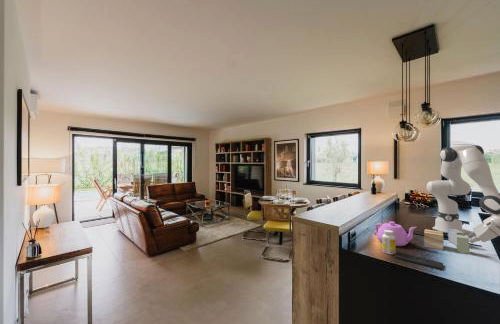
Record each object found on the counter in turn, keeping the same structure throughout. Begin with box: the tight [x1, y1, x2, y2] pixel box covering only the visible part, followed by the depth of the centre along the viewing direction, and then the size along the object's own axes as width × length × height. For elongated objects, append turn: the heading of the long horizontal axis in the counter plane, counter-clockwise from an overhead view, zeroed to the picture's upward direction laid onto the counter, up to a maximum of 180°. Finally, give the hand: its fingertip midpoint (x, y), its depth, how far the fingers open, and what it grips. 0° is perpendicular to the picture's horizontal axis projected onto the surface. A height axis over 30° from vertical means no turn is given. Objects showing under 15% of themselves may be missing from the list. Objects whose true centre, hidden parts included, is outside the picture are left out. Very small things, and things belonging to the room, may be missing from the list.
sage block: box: [456, 235, 470, 255], centre depth 128 cm, size 5×5×9 cm
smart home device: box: [393, 251, 444, 271], centre depth 116 cm, size 8×2×20 cm
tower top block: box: [423, 228, 444, 244], centre depth 137 cm, size 9×9×4 cm
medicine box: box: [447, 229, 466, 246], centre depth 139 cm, size 8×4×9 cm, turn 168°
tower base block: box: [423, 239, 444, 251], centre depth 137 cm, size 9×9×4 cm
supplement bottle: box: [381, 230, 397, 255], centre depth 128 cm, size 7×7×13 cm
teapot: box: [374, 220, 417, 247], centre depth 143 cm, size 25×18×14 cm
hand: (469, 239), depth 126 cm, fingers open, 8 cm apart
